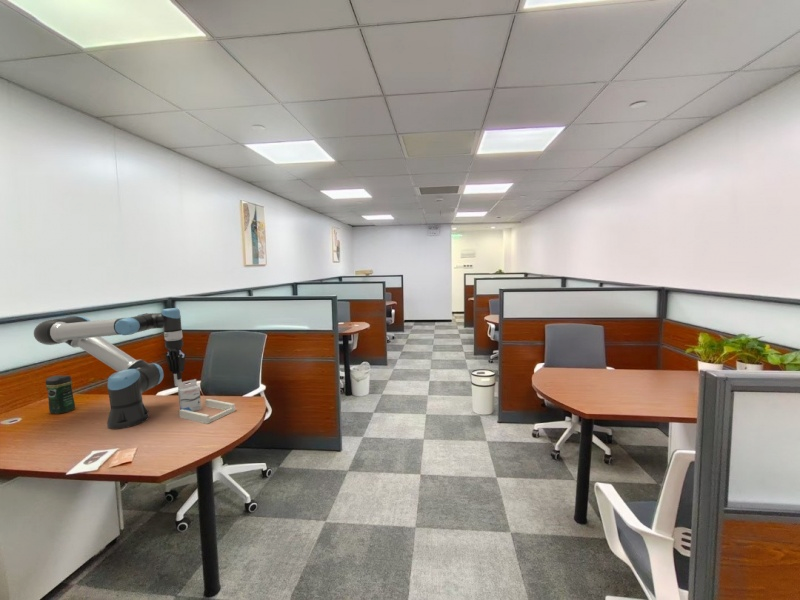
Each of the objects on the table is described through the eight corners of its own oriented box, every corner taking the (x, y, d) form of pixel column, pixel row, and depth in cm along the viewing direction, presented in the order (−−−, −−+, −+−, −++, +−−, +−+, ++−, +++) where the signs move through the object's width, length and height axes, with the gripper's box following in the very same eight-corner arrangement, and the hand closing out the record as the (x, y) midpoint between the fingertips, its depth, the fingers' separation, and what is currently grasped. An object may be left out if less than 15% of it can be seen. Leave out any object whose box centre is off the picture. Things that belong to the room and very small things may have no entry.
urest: (179, 417, 161) (179, 410, 161) (208, 405, 175) (208, 398, 174) (207, 423, 153) (206, 416, 153) (235, 410, 167) (234, 403, 167)
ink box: (182, 414, 164) (179, 385, 163) (179, 411, 168) (176, 382, 167) (201, 409, 170) (199, 380, 169) (199, 406, 174) (196, 378, 173)
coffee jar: (79, 408, 177) (74, 373, 175) (61, 414, 169) (56, 378, 167) (63, 407, 178) (59, 373, 177) (46, 414, 171) (40, 378, 169)
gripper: (157, 340, 168) (162, 386, 171) (174, 341, 163) (179, 389, 165) (173, 337, 175) (177, 381, 177) (189, 338, 170) (194, 384, 172)
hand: (178, 385), depth 171 cm, fingers closed
